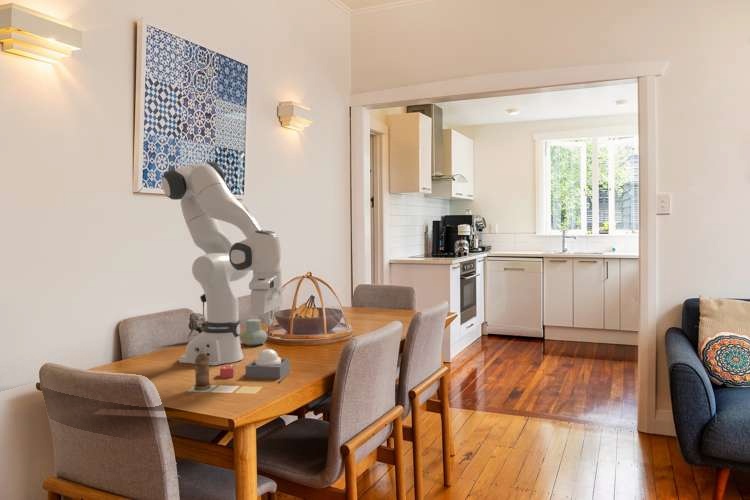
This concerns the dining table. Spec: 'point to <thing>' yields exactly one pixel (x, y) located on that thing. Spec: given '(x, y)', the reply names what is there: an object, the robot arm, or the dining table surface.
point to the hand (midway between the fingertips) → (268, 324)
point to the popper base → (268, 370)
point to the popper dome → (268, 358)
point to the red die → (227, 371)
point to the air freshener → (253, 333)
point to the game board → (230, 389)
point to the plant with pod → (197, 319)
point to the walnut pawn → (202, 372)
